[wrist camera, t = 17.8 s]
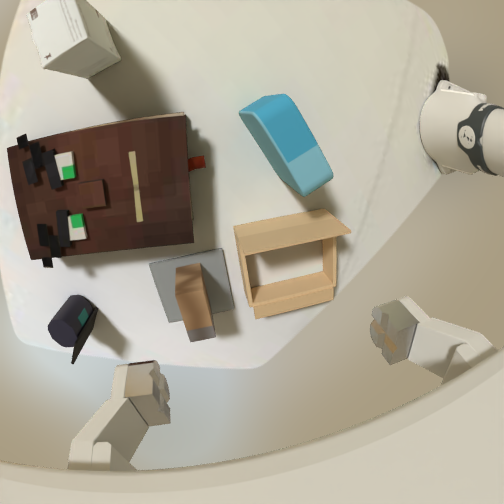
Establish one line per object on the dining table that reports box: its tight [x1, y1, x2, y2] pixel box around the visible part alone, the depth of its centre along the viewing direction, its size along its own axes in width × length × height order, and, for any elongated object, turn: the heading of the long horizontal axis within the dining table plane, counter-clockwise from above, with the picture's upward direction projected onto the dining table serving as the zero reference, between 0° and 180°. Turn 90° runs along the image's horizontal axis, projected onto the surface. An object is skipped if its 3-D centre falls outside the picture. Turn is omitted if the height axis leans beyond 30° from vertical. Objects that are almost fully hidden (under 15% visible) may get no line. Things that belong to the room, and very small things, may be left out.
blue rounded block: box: [239, 94, 333, 197], centre depth 38 cm, size 12×4×12 cm, turn 32°
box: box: [175, 263, 216, 342], centre depth 48 cm, size 4×9×8 cm, turn 7°
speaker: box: [48, 295, 98, 364], centre depth 45 cm, size 8×6×10 cm
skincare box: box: [26, 0, 121, 79], centre depth 25 cm, size 8×6×15 cm
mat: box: [149, 248, 234, 322], centre depth 52 cm, size 12×12×1 cm
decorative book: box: [7, 112, 206, 268], centre depth 38 cm, size 19×8×30 cm
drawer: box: [233, 209, 351, 319], centre depth 49 cm, size 15×15×10 cm
